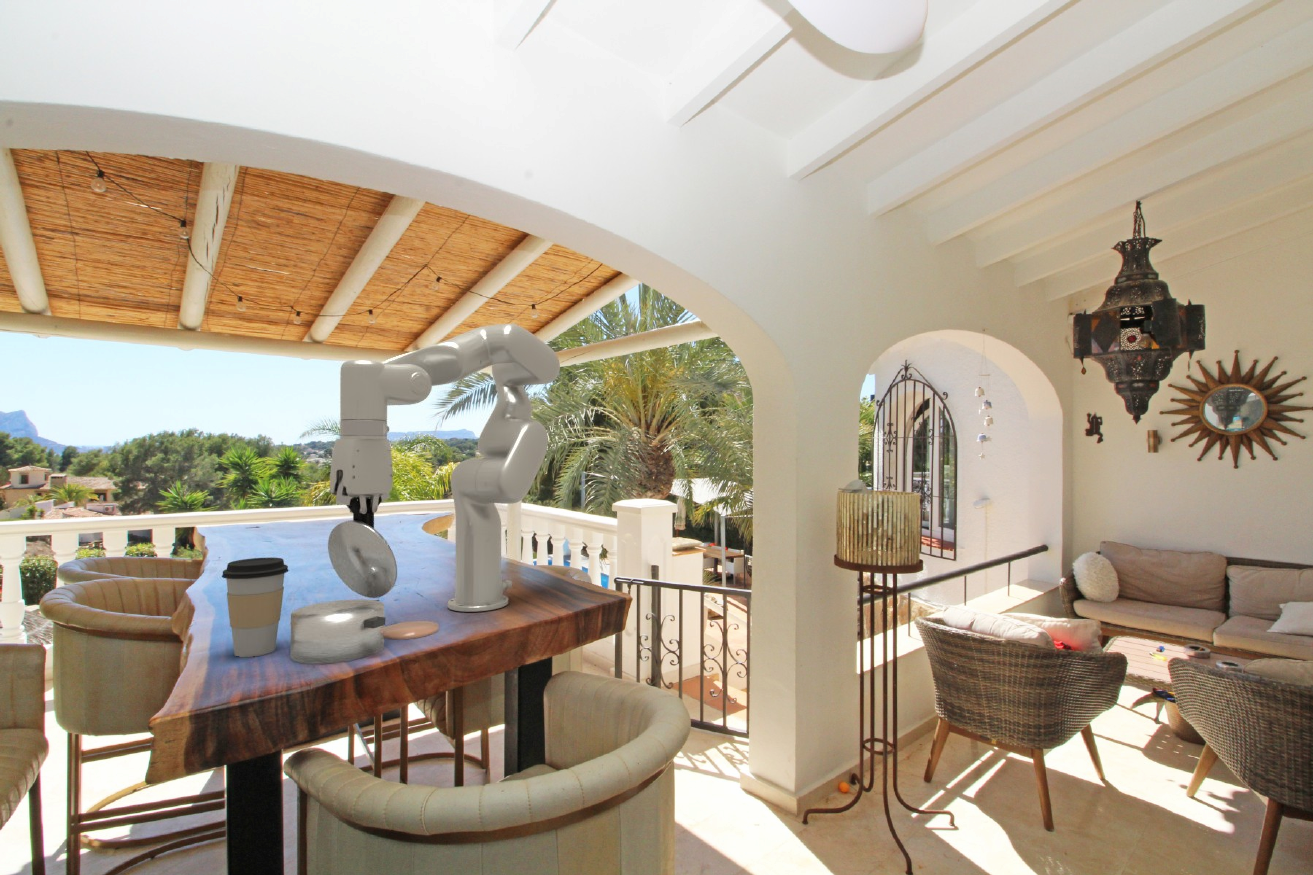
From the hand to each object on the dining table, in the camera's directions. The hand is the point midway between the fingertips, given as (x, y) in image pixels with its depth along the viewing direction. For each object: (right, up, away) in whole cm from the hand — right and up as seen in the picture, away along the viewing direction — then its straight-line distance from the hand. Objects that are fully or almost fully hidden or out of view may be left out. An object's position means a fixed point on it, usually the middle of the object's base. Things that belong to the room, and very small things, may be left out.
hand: (363, 535), depth 112 cm
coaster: (+6, -19, +6) cm, 20 cm away
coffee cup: (-15, -19, -6) cm, 25 cm away
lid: (0, -4, -1) cm, 4 cm away
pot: (-2, -18, -5) cm, 19 cm away
